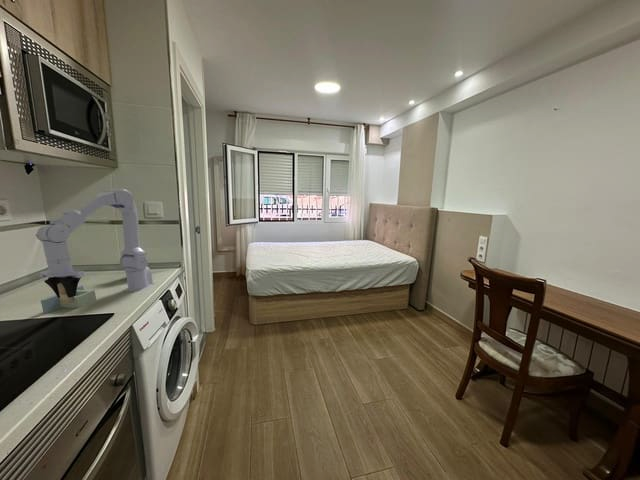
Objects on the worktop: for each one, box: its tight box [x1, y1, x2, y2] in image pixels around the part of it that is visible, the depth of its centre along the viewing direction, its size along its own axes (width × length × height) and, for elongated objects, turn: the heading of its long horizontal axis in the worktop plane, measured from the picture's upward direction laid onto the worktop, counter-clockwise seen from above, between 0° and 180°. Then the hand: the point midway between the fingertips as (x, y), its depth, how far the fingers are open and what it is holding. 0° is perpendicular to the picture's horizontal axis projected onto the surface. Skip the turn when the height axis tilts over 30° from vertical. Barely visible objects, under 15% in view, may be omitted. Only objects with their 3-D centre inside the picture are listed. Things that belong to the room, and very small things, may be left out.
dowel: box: [57, 283, 75, 304], centre depth 90 cm, size 3×3×7 cm
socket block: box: [59, 289, 97, 309], centre depth 99 cm, size 7×7×4 cm
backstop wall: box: [40, 285, 85, 314], centre depth 98 cm, size 14×2×5 cm, turn 176°
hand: (67, 296), depth 90 cm, fingers closed on dowel, 3 cm apart
